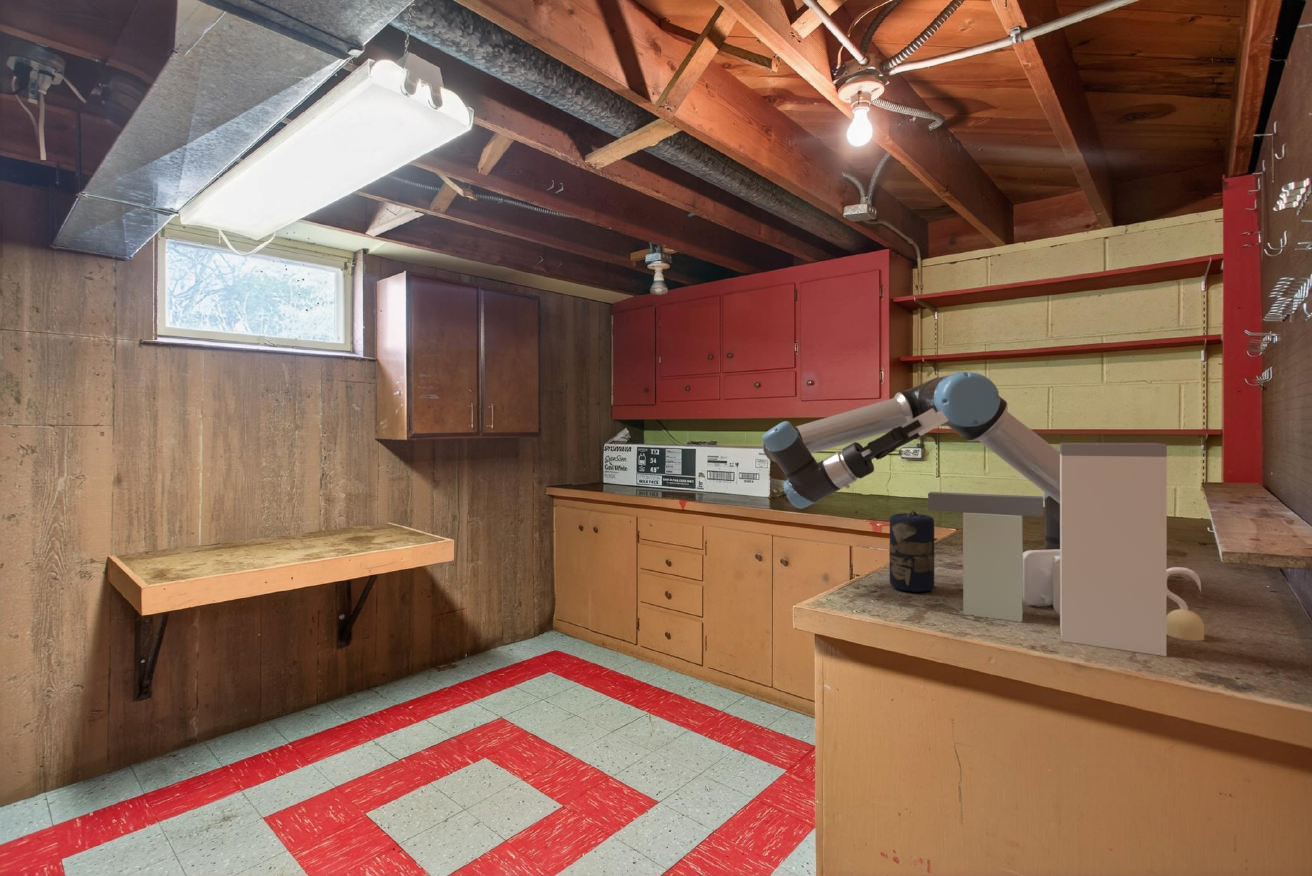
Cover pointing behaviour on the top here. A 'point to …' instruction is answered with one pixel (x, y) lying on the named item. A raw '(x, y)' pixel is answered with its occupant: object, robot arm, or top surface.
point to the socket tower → (1114, 545)
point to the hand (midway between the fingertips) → (941, 414)
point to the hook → (1183, 613)
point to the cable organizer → (1042, 578)
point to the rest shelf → (993, 566)
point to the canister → (912, 552)
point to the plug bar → (986, 503)
